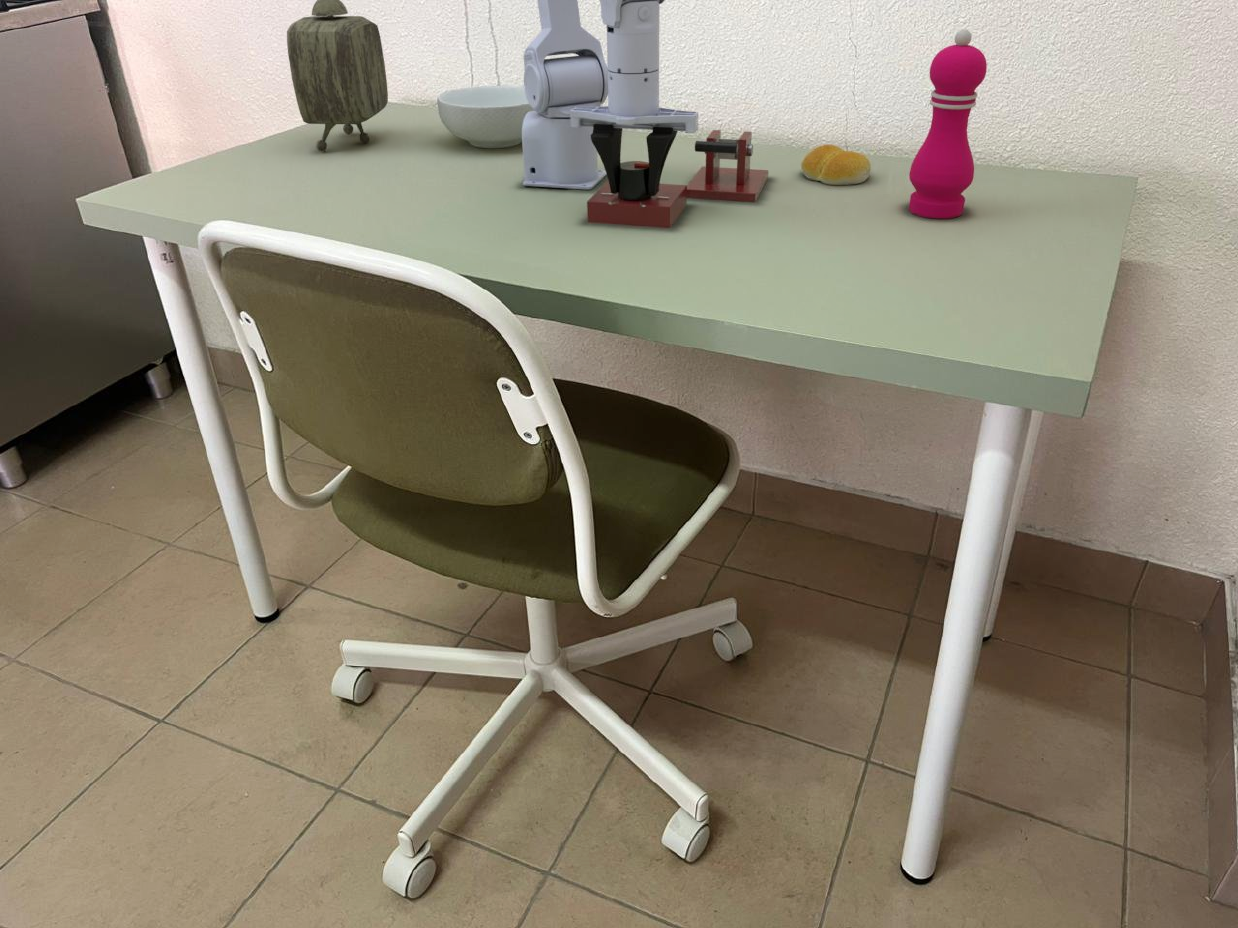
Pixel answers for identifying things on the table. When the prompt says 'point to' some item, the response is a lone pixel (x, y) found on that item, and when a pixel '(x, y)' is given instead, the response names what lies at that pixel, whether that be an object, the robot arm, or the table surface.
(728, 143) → the toaster lever
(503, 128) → the cereal bowl
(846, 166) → the bread roll
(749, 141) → the red lever base
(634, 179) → the knob
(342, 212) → the table surface
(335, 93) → the tabletop clock
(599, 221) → the panel
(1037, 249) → the table surface
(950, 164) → the pepper mill
